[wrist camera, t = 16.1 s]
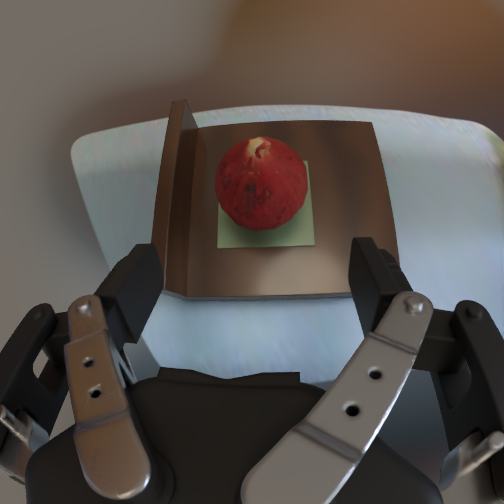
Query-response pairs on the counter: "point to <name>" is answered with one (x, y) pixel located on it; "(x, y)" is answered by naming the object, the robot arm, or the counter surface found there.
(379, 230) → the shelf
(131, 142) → the counter surface
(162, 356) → the counter surface
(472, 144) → the counter surface
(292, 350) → the counter surface
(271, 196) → the red pomegranate
